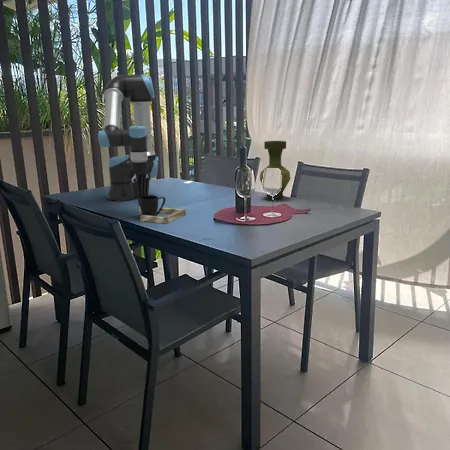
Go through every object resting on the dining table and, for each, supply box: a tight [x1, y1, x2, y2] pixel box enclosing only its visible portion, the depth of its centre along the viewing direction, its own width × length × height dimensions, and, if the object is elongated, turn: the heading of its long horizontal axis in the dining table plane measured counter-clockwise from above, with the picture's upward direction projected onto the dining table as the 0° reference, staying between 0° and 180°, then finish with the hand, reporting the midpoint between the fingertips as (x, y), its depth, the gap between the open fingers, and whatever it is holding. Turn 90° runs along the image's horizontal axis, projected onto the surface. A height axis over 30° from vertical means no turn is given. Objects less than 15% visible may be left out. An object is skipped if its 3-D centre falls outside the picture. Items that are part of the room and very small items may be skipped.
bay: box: [139, 207, 187, 225], centre depth 203 cm, size 14×17×2 cm
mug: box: [140, 194, 166, 216], centre depth 203 cm, size 8×12×10 cm
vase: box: [259, 140, 291, 201], centre depth 234 cm, size 16×16×30 cm
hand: (142, 212), depth 207 cm, fingers closed
